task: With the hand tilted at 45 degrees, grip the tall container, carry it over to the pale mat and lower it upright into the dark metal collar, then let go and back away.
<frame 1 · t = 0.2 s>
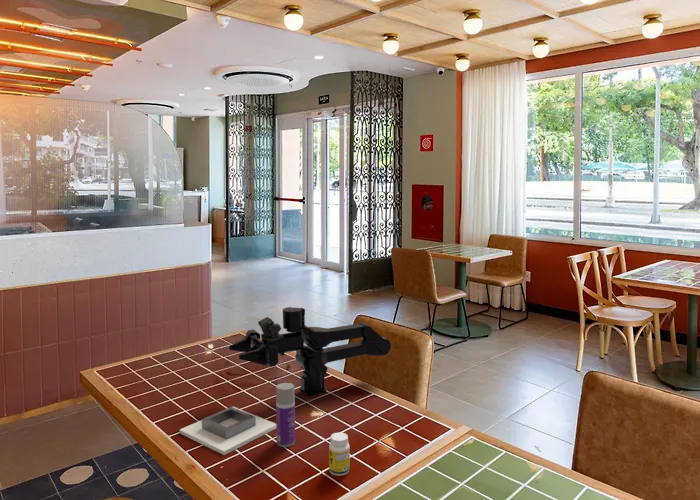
hand: (233, 352, 154), 17 cm above the table, tool horizontal, fingers open, 9 cm apart
supplement bottle: (339, 471, 124), on the table
mat: (229, 430, 142), on the table
container: (285, 443, 136), on the table
collar: (228, 422, 142), on the mat, point 2 cm above the table
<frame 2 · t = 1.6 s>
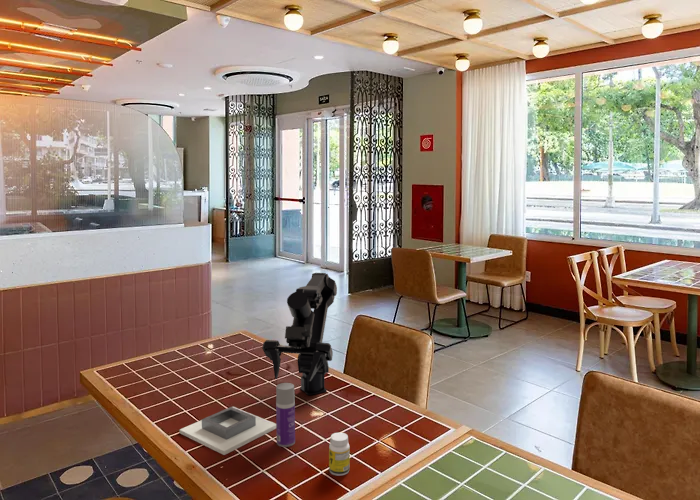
hand: (292, 379, 142), 14 cm above the table, tool tilted 45°, fingers open, 9 cm apart
nothing on the table moved.
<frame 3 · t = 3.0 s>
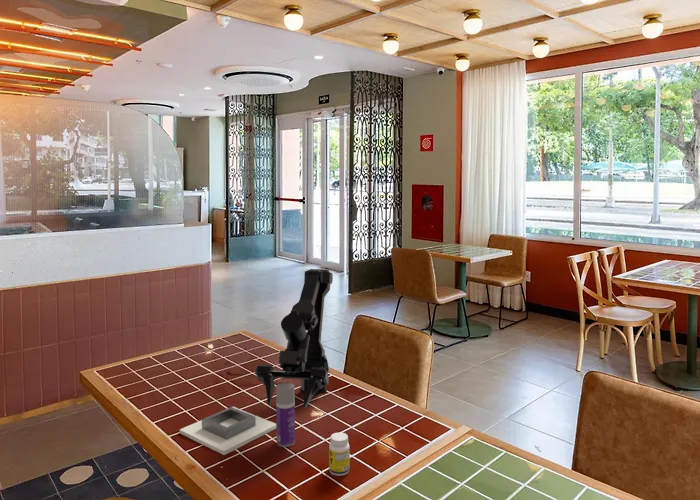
hand: (286, 406, 136), 9 cm above the table, tool tilted 45°, fingers open, 9 cm apart
nothing on the table moved.
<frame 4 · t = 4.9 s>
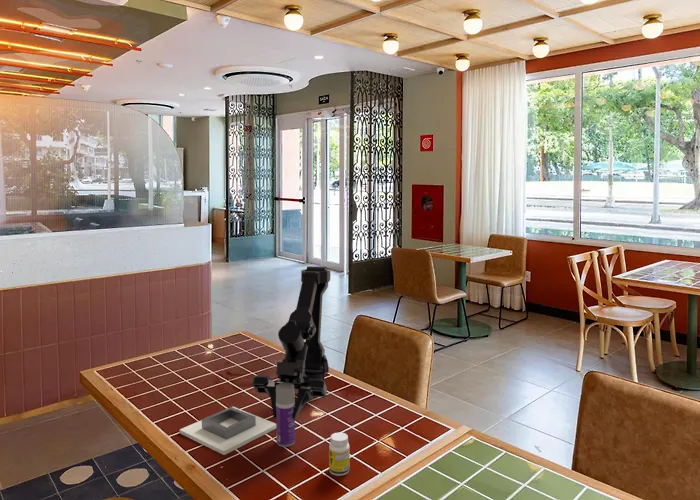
hand: (284, 418, 134), 7 cm above the table, tool tilted 45°, fingers closed on container, 5 cm apart
container: (285, 443, 136), on the table, touching gripper
everything else where it was.
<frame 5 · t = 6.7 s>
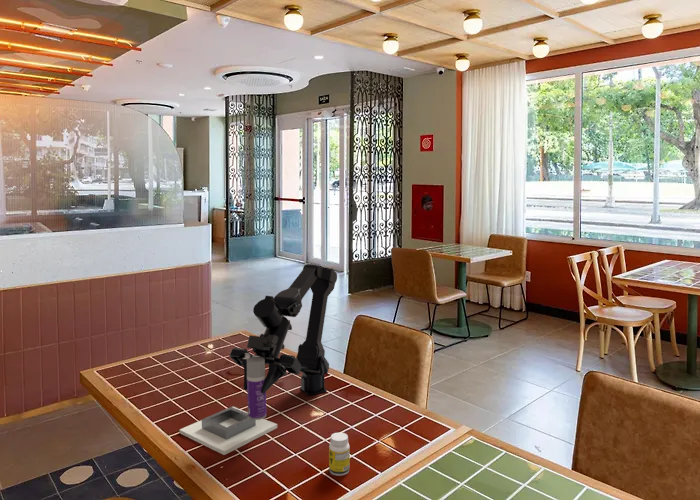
hand: (253, 391, 135), 13 cm above the table, tool tilted 45°, fingers closed on container, 5 cm apart
container: (257, 416, 137), point 6 cm above the table, touching gripper
everything else where it was.
when the fingers open (9 cm above the table, at t = 9.0 s): container drops 1 cm, resting on mat.
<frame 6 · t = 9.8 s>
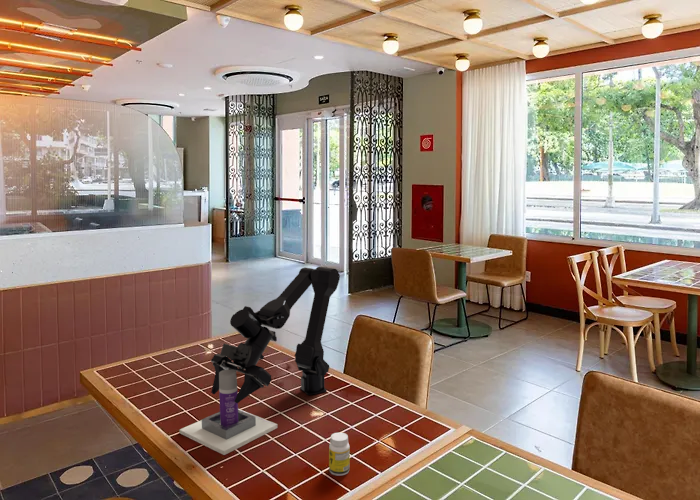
hand: (223, 397, 140), 10 cm above the table, tool tilted 45°, fingers open, 9 cm apart
container: (229, 427, 143), point 1 cm above the table, touching mat
everything else where it was.
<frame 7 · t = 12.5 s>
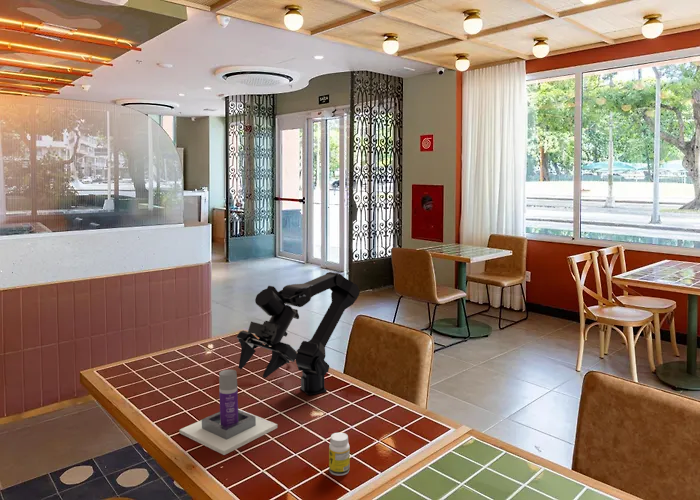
hand: (251, 372, 147), 13 cm above the table, tool tilted 45°, fingers open, 9 cm apart
nothing on the table moved.
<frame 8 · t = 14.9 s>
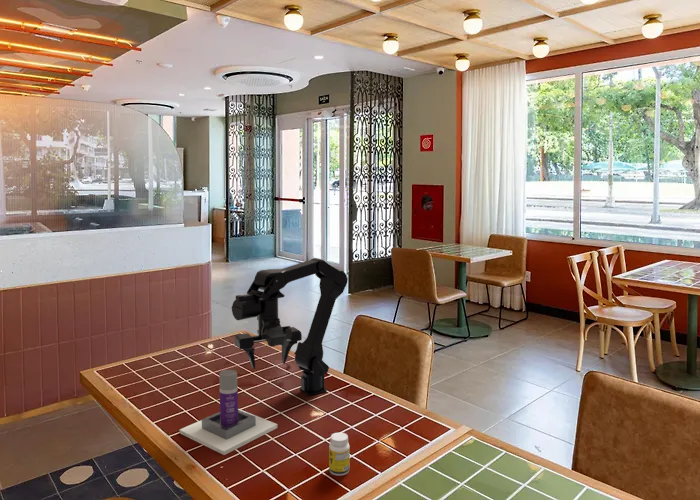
hand: (269, 366, 157), 12 cm above the table, tool pointing down, fingers open, 9 cm apart
nothing on the table moved.
at the end: container 0.2 cm off-centre on the collar, point 0.8 cm above the collar's base; container tilted 0°; the gripper is holding nothing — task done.
